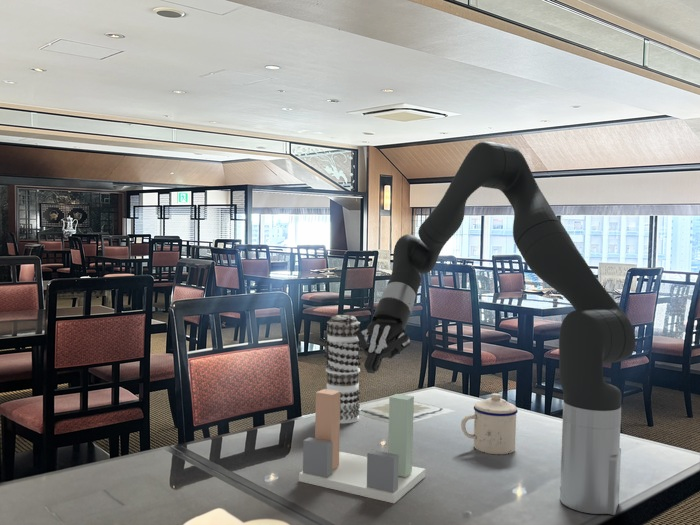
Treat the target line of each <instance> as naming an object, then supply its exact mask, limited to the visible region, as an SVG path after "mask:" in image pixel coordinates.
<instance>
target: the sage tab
mask: <svg viewBox="0 0 700 525" xmlns="http://www.w3.org/2000/svg"><path fill="white" fill-rule="evenodd" d="M414 399H415V396H414V395H406V394H401V393H395V394H393V395H391V396H389V400H388V401H389V404H388V405H389V407H388V442H387V443H388V444H387V446H388V447H387V448H388V451H387V453H392V454H398V455H399V466H398V476H402V477H406V476H408V475H409V474H410V473H411V472H412V466H413V453H414V452H413V448H414V410H415V408H414V407H415V400H414Z"/></svg>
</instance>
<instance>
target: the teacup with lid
mask: <svg viewBox="0 0 700 525" xmlns="http://www.w3.org/2000/svg"><path fill="white" fill-rule="evenodd" d="M501 397H502V396H501V394H500V393H491V394H490V397H487V398H486V399H484V400H480V401H477V402H475V403H474V405H473V409H474V414H468V415H465V416H464V417H463V419H462V420H461V422H460V427H461V431H462V432H463V435H464V436H466V438H469V439H473V447H474V448H475V449H476V450H478V451H479V452H482V453H484V452H485V454H489V455H498V454H500V455H508V453H509V454H512V453H513V452H514V451H515V450H516V433H517V432H516V431H517V413H518V409H517V406H516V405H515V404H513V403H511V402H508V401H507V400H505V399H504V398H501ZM469 420H474V423H473V424H474V425H473V426H474V427H473V434H470V433H469V432H468V431H467V429H466V424H467V422H468V421H469Z"/></svg>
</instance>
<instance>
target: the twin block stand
mask: <svg viewBox="0 0 700 525" xmlns="http://www.w3.org/2000/svg"><path fill="white" fill-rule="evenodd" d="M302 442H303V443H302V444H303V446H302V470H301V471H300V472H299V473H298V482H300V483H306V484H310V485H314V486H318V487H322V488H326V489H332V490H335V491H339V492H344V493H346V494H352V495H357V496H361V497H366V498H369V499H374V500H378V501H383V502H387V503H391V504H395V503H397V502H398V501H399V500H401V498H403V497H404V496H405V495H406V494H407V493H409V491H411V490H412V489H413V488H414V487H416V486H417V484H419V483H420V482H421V481H422V480H423V479H425V477H426V468H423V467H419V466H413V465H412V472H411V473H410V474H409V475H408V476H406V477H402V476H398V466H399V455H398V454H392V453H388V451H387V452H385V451H382V450H376V449H371V450H370V451H368V452H367V453H366V454H367V455H366V456H365V455H359V454H355V453H354V454H353V453H349V452H344V451H339V466H337V467H336V468H334V469H333V470H332V457H333V442H331V441H326V440H320V439H315V437H310V436H309V437H307V438H305V439H303V441H302Z"/></svg>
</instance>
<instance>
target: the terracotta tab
mask: <svg viewBox="0 0 700 525" xmlns="http://www.w3.org/2000/svg"><path fill="white" fill-rule="evenodd" d="M314 419H315V425H314V426H315V429H314V430H315V431H314V432H315V433H314V438H315V439H320V440H326V441H331V442H333V457H332V470H333V469H334V468H336V467H337V466H339V452H340V438H341V437H340V436H341V434H340V433H341V428H340V427H341V425H340V424H341V423H340V391H334V390H328V389H327V388H323V389H320V390H318V391H316V392H315V418H314Z"/></svg>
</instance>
